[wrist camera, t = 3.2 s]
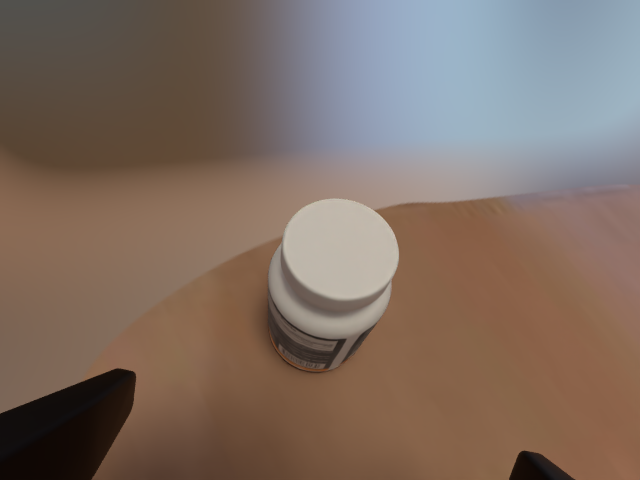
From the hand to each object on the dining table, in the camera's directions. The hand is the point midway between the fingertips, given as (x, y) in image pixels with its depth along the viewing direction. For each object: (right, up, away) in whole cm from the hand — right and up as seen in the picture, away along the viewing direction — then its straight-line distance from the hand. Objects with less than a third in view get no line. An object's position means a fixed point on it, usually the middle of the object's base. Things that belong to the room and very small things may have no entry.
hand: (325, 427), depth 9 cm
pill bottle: (0, -1, +15) cm, 15 cm away
